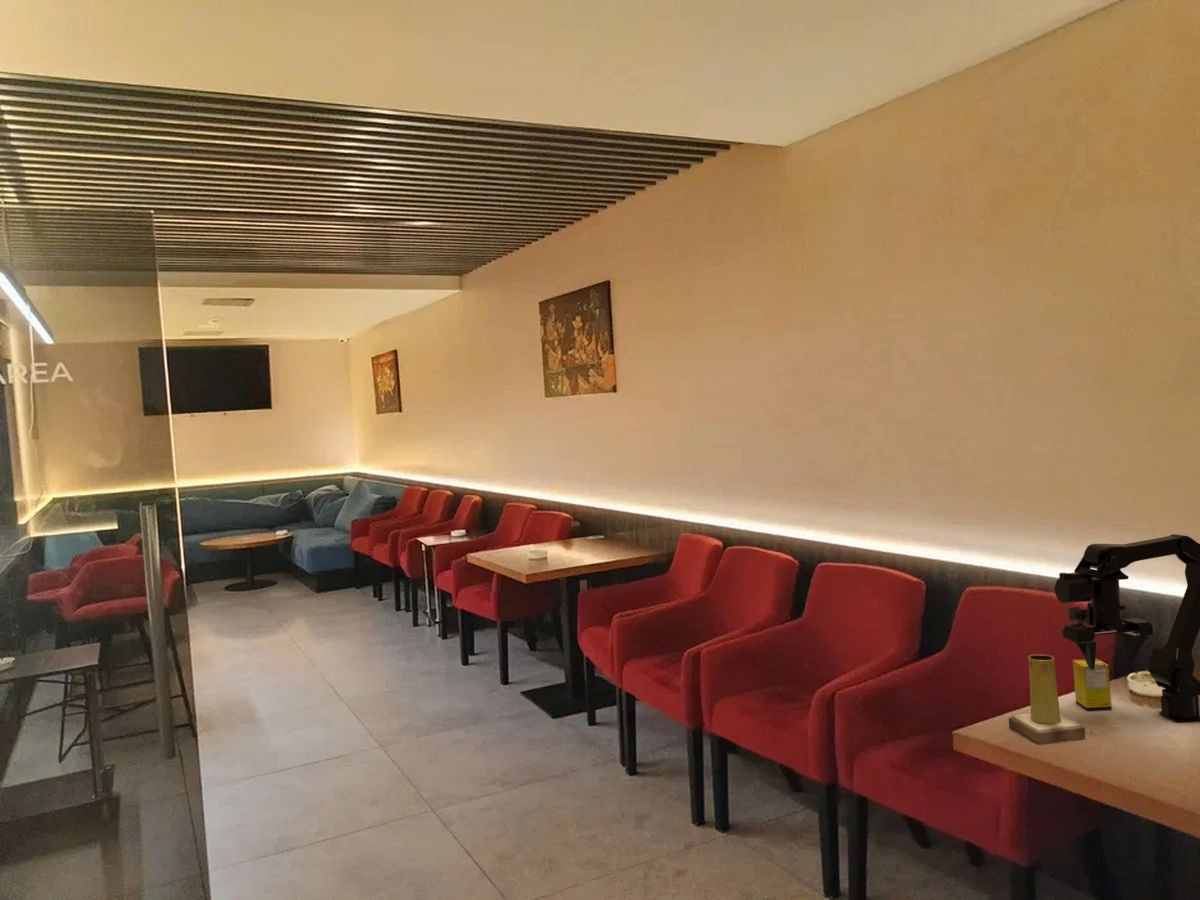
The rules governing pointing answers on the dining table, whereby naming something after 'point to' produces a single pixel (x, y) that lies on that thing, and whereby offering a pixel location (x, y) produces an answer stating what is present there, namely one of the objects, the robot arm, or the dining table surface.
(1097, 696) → the supplement box
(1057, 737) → the stand
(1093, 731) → the dining table surface
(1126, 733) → the dining table surface
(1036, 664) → the vase
